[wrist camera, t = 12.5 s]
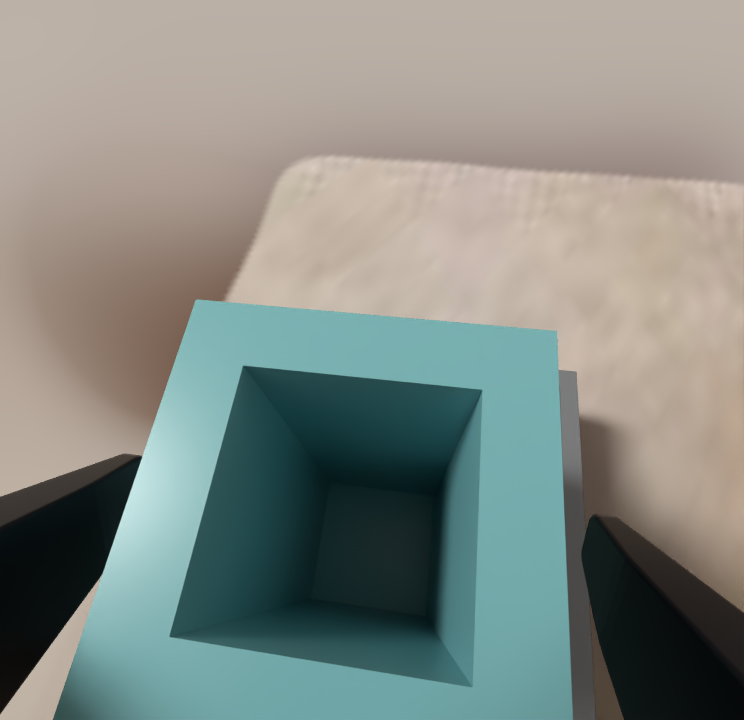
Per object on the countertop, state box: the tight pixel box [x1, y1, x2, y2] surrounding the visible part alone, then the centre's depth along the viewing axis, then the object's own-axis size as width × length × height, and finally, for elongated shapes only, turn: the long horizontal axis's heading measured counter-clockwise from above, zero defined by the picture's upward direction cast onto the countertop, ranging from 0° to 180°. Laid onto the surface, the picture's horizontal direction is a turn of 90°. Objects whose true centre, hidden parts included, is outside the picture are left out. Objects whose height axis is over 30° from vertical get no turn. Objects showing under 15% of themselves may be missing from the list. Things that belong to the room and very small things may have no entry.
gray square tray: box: [559, 370, 596, 720], centre depth 16 cm, size 13×13×4 cm
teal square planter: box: [53, 300, 573, 720], centre depth 12 cm, size 6×6×12 cm
